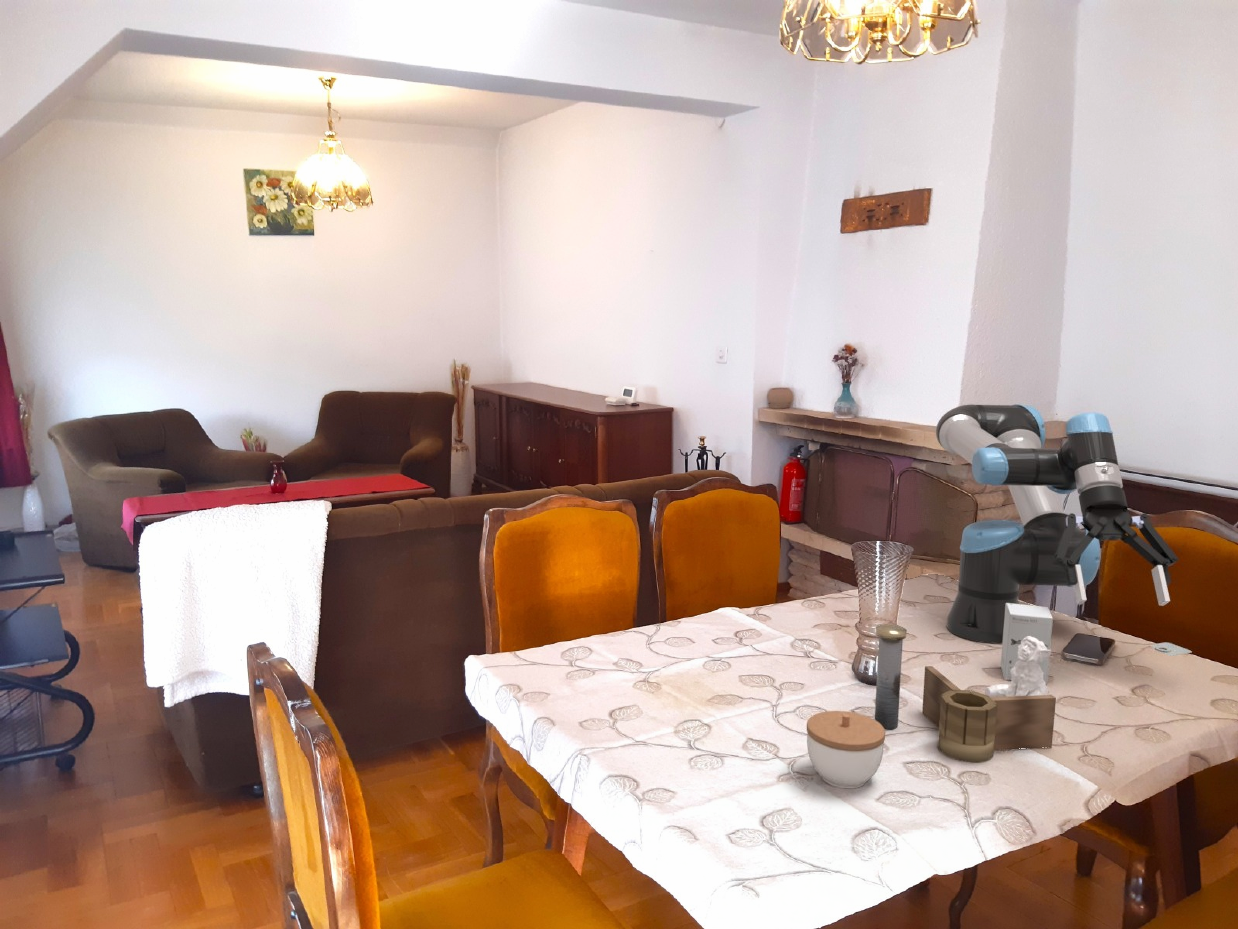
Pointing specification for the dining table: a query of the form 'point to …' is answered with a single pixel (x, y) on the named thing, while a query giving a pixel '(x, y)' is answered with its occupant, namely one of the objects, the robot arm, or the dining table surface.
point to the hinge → (985, 719)
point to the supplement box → (1024, 634)
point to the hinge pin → (888, 674)
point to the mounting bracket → (1170, 649)
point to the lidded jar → (845, 747)
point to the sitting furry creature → (1025, 672)
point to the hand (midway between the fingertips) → (1122, 603)
